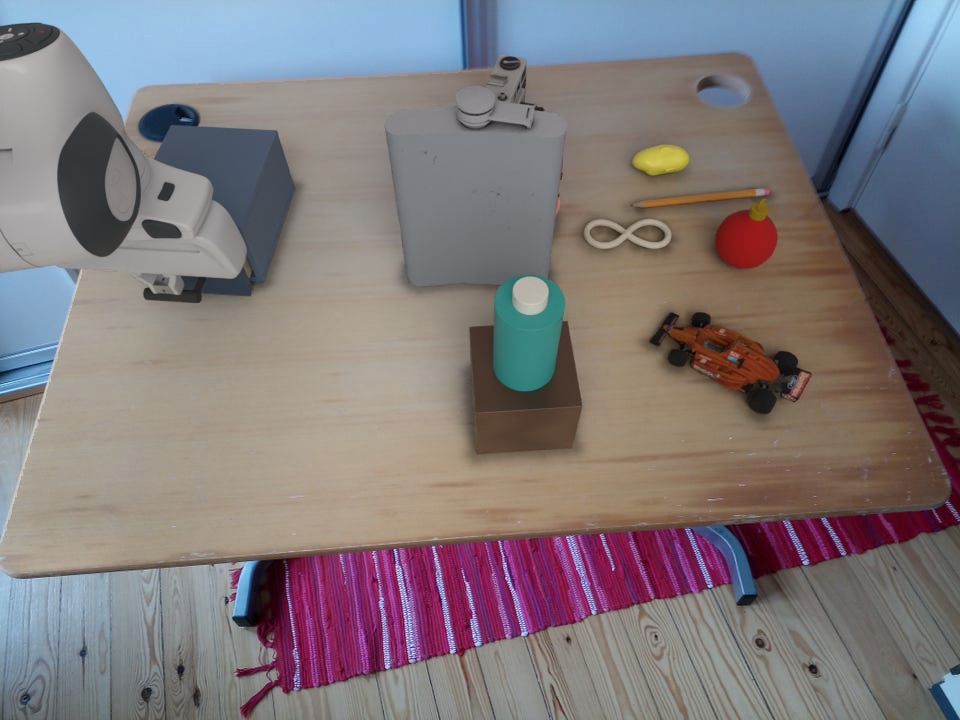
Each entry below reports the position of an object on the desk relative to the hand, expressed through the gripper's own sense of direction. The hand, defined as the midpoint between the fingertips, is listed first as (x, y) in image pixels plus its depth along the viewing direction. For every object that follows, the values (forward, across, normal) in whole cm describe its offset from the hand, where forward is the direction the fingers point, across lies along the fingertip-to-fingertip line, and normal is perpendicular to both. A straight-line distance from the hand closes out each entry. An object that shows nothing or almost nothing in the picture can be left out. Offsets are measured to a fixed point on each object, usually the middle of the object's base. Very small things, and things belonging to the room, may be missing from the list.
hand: (169, 289), depth 74 cm
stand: (+6, +39, -8) cm, 41 cm away
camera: (+7, +36, +34) cm, 50 cm away
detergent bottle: (-3, +39, -8) cm, 40 cm away
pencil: (+7, +62, +25) cm, 67 cm away
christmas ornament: (+7, +65, +15) cm, 67 cm away
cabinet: (+7, 0, +15) cm, 17 cm away
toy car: (+7, +62, -1) cm, 62 cm away
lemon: (+7, +56, +31) cm, 65 cm away
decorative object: (+7, +52, +18) cm, 55 cm away
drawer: (+6, 0, +9) cm, 11 cm away
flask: (+7, +33, +10) cm, 35 cm away
